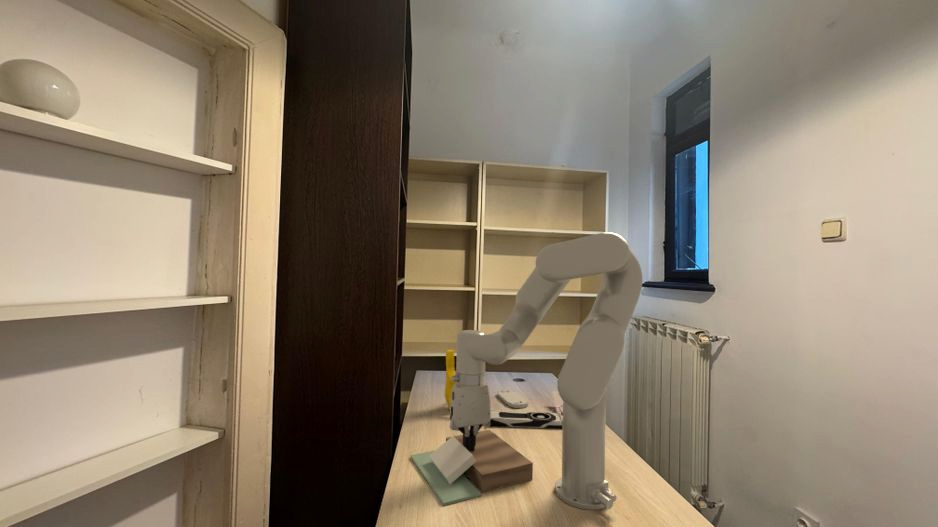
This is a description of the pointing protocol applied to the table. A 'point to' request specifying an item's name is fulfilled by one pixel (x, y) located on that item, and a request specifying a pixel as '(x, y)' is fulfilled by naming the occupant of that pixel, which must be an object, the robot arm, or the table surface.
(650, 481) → the table surface
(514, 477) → the block
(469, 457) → the tile
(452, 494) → the mat
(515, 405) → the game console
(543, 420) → the graphics card
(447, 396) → the yellow upright piece
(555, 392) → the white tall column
